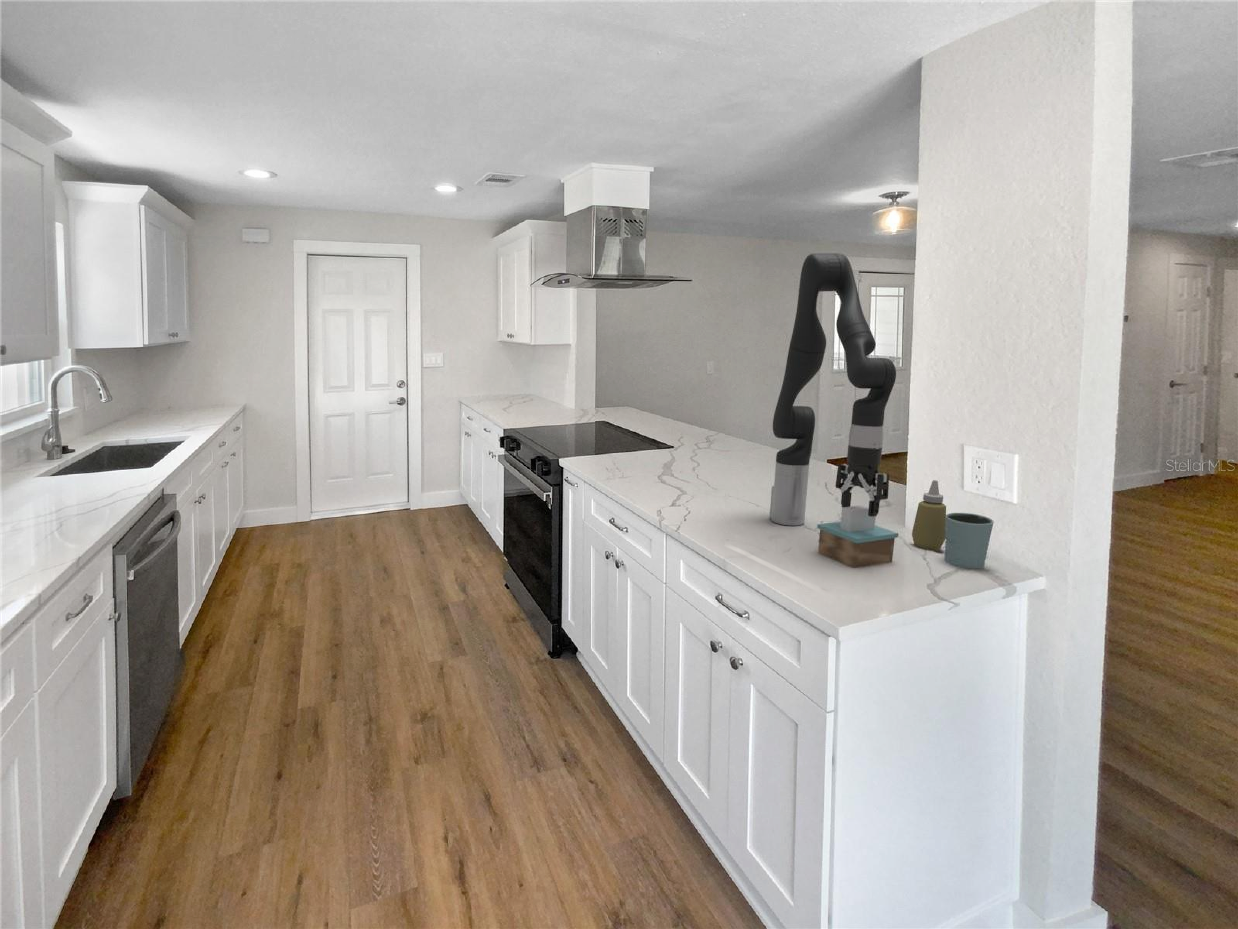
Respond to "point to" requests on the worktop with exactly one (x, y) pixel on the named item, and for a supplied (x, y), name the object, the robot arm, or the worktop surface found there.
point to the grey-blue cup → (967, 539)
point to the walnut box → (855, 550)
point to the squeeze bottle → (930, 520)
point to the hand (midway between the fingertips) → (858, 511)
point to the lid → (857, 526)
